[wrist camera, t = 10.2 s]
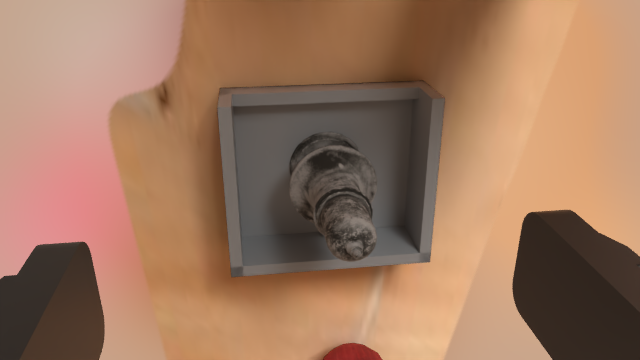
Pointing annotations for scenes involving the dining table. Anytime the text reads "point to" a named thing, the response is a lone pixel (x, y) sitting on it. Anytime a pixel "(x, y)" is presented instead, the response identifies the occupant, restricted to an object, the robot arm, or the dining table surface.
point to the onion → (352, 353)
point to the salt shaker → (335, 193)
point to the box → (372, 141)
